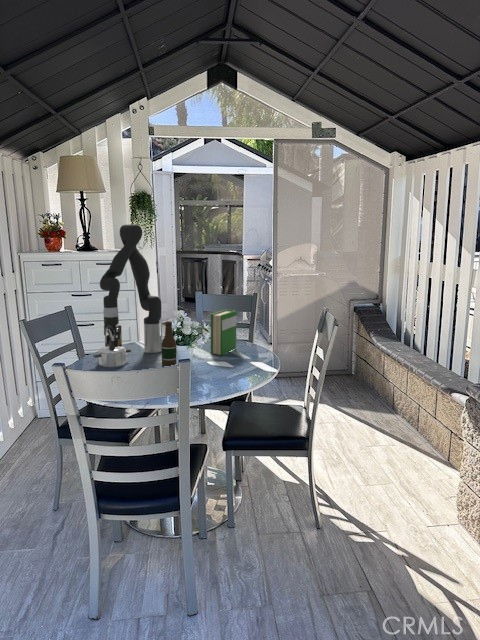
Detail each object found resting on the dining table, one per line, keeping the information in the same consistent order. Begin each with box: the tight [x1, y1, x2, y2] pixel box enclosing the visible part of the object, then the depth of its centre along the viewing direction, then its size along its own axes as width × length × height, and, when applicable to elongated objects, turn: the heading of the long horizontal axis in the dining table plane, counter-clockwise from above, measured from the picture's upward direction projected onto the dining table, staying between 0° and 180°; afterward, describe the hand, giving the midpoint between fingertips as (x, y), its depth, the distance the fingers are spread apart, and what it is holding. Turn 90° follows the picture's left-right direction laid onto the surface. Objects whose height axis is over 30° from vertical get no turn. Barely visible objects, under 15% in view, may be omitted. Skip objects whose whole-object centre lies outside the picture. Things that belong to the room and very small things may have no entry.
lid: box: [98, 340, 126, 354], centre depth 245 cm, size 14×14×7 cm
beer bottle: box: [161, 320, 178, 368], centre depth 241 cm, size 8×8×24 cm
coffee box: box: [104, 324, 123, 347], centre depth 264 cm, size 9×6×16 cm
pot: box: [92, 348, 132, 368], centre depth 246 cm, size 20×14×7 cm
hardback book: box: [210, 309, 237, 356], centre depth 271 cm, size 18×7×24 cm, turn 153°
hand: (112, 345), depth 245 cm, fingers open, 8 cm apart
